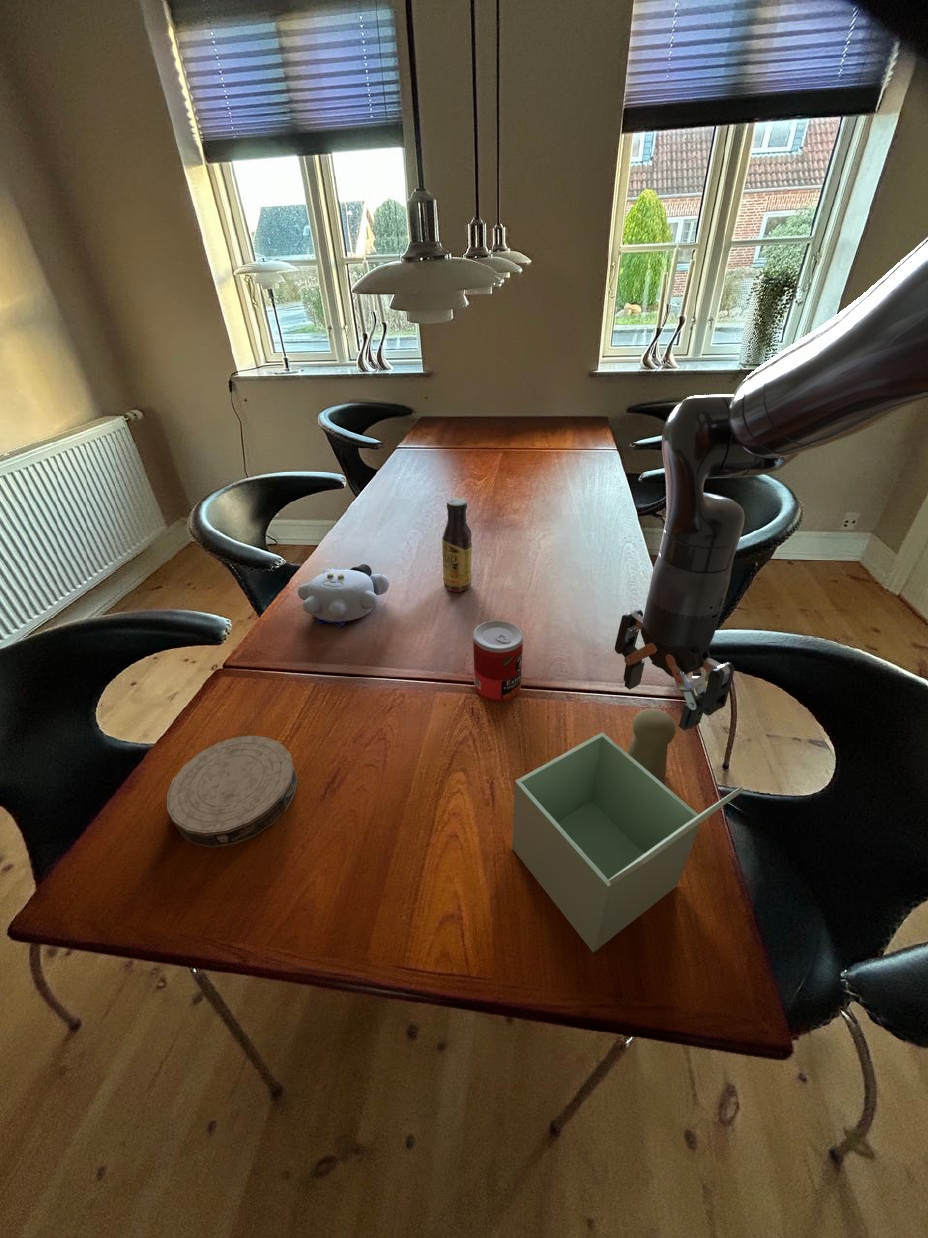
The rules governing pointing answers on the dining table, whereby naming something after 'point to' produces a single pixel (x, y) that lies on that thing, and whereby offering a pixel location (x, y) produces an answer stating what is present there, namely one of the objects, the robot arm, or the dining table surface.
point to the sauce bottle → (457, 548)
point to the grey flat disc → (232, 791)
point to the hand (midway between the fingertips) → (658, 705)
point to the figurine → (342, 594)
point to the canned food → (497, 660)
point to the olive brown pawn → (652, 741)
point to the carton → (599, 836)
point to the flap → (675, 836)
